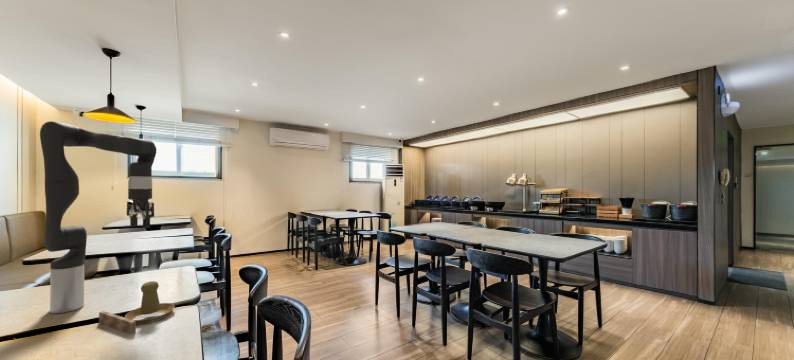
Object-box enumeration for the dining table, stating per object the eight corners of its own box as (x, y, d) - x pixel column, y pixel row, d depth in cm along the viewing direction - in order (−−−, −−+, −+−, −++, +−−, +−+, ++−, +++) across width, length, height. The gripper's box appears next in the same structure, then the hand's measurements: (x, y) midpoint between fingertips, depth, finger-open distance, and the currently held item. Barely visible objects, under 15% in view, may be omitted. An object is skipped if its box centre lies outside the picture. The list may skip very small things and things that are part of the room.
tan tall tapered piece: (147, 315, 111) (146, 287, 110) (136, 312, 113) (135, 284, 112) (164, 308, 117) (163, 281, 116) (153, 304, 119) (152, 278, 118)
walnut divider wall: (99, 323, 109) (99, 312, 109) (103, 321, 110) (103, 310, 110) (131, 334, 102) (131, 322, 102) (135, 332, 103) (135, 321, 103)
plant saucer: (162, 325, 109) (162, 317, 109) (114, 329, 106) (114, 321, 106) (181, 308, 124) (181, 301, 124) (140, 311, 121) (140, 304, 121)
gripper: (119, 187, 122) (118, 227, 122) (140, 188, 116) (139, 229, 116) (140, 187, 129) (140, 224, 129) (161, 187, 123) (161, 227, 123)
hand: (140, 227), depth 123 cm, fingers open, 8 cm apart
